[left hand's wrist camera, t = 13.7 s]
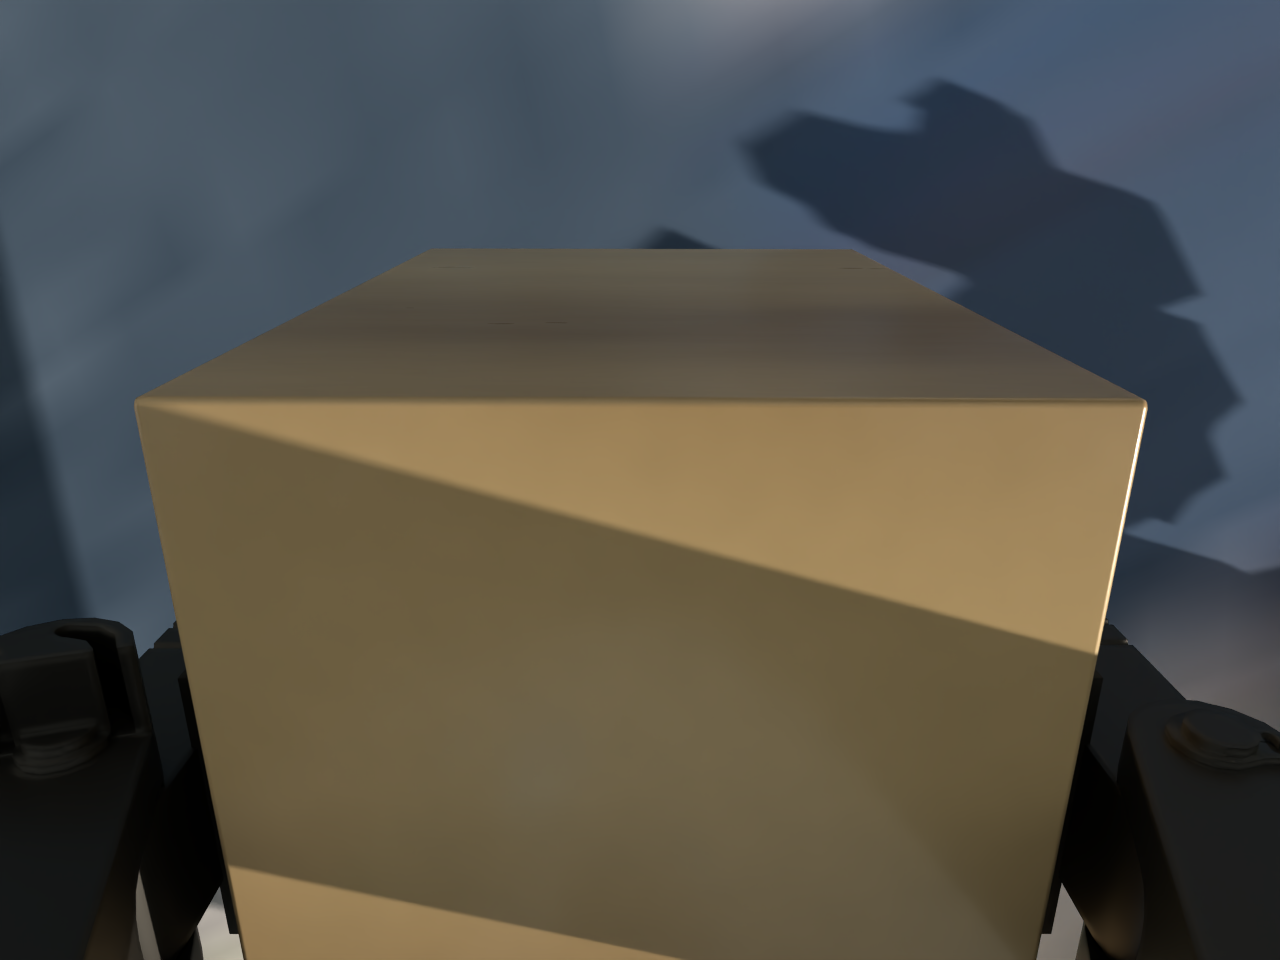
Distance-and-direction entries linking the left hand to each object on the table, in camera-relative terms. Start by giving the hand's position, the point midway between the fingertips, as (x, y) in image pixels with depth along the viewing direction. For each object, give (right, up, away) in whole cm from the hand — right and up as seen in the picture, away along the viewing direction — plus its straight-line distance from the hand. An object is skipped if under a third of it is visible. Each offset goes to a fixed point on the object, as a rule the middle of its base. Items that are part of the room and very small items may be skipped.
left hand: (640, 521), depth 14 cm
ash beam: (0, -13, +5) cm, 14 cm away
